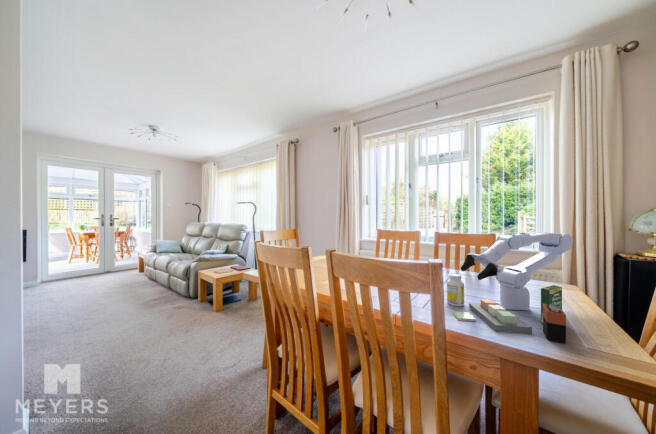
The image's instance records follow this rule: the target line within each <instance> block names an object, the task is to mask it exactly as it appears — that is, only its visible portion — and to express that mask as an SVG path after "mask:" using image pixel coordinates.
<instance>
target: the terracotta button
mask: <svg viewBox="0 0 656 434" xmlns="http://www.w3.org/2000/svg"><path fill="white" fill-rule="evenodd" d="M480 304H481V307H482V308H483V309H485V310H488V305H498V304H497V303H496V301H494V300H492V299H487V298H485V299H483V298H481V299H480Z"/></svg>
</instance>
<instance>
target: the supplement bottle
mask: <svg viewBox="0 0 656 434" xmlns="http://www.w3.org/2000/svg"><path fill="white" fill-rule="evenodd" d="M448 275H449V279H448V280H447V281H446V302H447V304H449V305H450V306H453V307H463V306H464V305H465V283H464V281H463V280H462V274H458V273H449V274H448Z"/></svg>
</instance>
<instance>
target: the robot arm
mask: <svg viewBox="0 0 656 434" xmlns="http://www.w3.org/2000/svg"><path fill="white" fill-rule="evenodd" d="M535 243H538V244H539V245H538V251H539V253H537V254H535V255H534V256H533V255H532V256H531V257H529V258H528V259H526V260H523V261H522V262H520V263H519V264H516V265H511V266H509V265H508V266H506V267H504V266H502V265H500V264H499V263H497V262H499V261H500V260H501V259H503V258H504V257H505V256H506V255H507V254H509V253H510V251H518V250H519V249H520V248H527V247H531V246H532V245H533V244H535ZM573 243H574V240H573V237H572V236H571V235H570V234H569V233H555V232H554V233H553V232H552V233H551V232H538V233H534V234H533V233H532V234H529V233H527V232H524V231H520V232H519V233H511V234H510V235H505V234H504V235H498V236H497V238H496V241H495V242H494V243H493V244H492V245H491V246H490V247H489V248H488V249H486V250H485V251H484V252H482V253H480V254H479V253H478V254H477V253H471V252H468V253H467V254H466V257H465V260H464V262H463V264H462V265H461V266H460V270H461V272H466V271H467V270H468V269H469V268H471V267H474V266H476V262H478V264H480V265H481V266H484V269H483V270H482V271H481V272H479V273H478V274H477V276H476V277H477V280H478V281H481V280H483V279H486V278H491V277H495V280H496V281H497V282H498V284H499V301H496V300H495V303H497V305H500V306H502V307H503V308H505V309H506V310H512V311H514V310H515V311H532V309H531V307H530V306H531V305H530V291H529V289H528V287H526V285H527V283H528V282H530V281H531V276H530V275H532V274H535V273H536V272H537V271H539V270H541V269H544V268H545V267H547V266H548V265H551V264H552V263H554V262H556V261H557V260H558V259H559V258H560V257H561V256H562V255H563V254H564V253H566V252H568V251H569V250H572V247H573Z"/></svg>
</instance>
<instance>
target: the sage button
mask: <svg viewBox="0 0 656 434" xmlns="http://www.w3.org/2000/svg"><path fill="white" fill-rule="evenodd" d="M516 317H517V316H516V315H515V314H513V313H512V312H510V311H508V310H507V311H497V319H498V320H499V321H500V322H501V323H503V324H516Z"/></svg>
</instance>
